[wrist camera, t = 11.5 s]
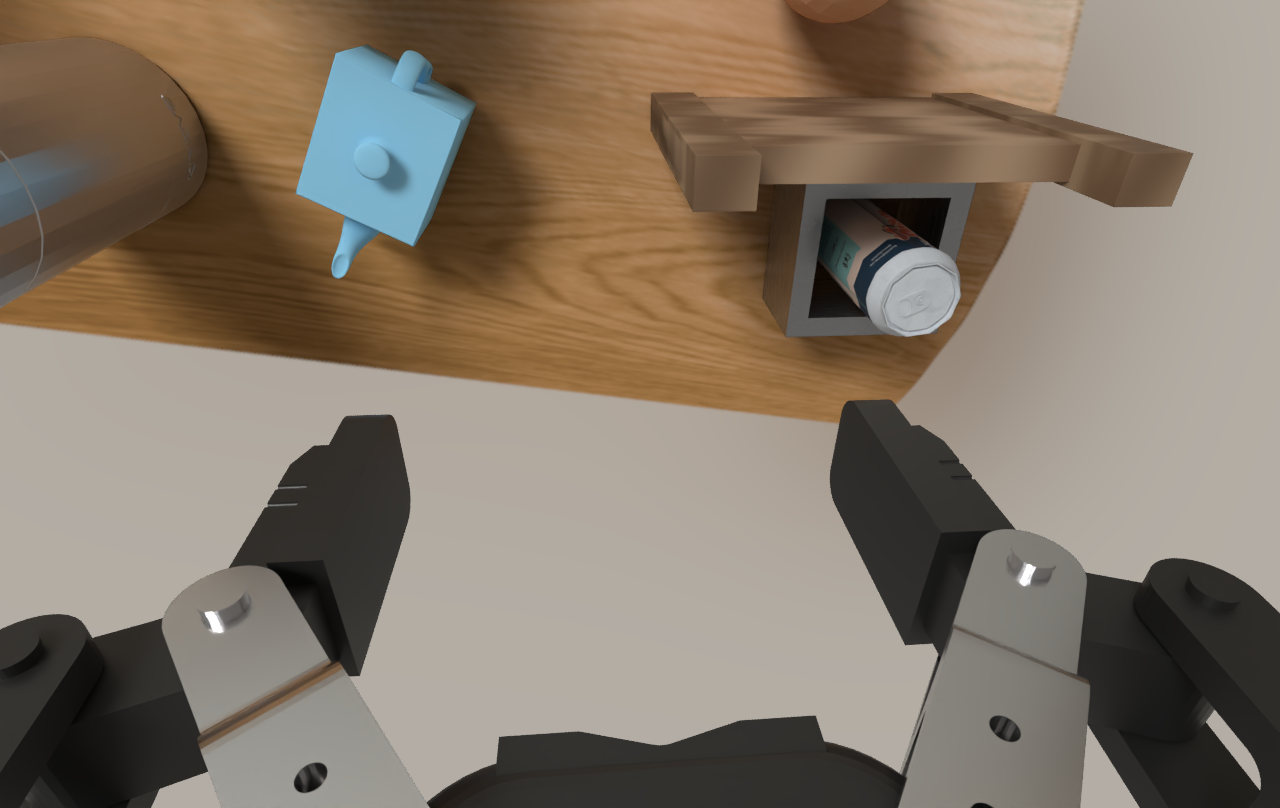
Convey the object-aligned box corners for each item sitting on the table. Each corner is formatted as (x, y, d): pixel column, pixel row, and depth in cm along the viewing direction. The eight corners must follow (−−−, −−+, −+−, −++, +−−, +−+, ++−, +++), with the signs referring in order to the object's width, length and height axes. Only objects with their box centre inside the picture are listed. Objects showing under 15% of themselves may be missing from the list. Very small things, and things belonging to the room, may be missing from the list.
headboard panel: (650, 129, 40) (692, 211, 25) (651, 92, 39) (695, 155, 24) (963, 129, 41) (1171, 206, 27) (971, 93, 40) (1193, 153, 26)
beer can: (885, 245, 45) (977, 321, 35) (816, 275, 46) (886, 359, 35) (867, 177, 42) (960, 237, 32) (794, 211, 43) (863, 280, 33)
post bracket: (762, 298, 46) (785, 337, 41) (778, 152, 41) (807, 176, 36) (897, 295, 47) (936, 333, 42) (929, 151, 42) (978, 174, 37)
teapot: (416, 260, 43) (388, 308, 37) (317, 216, 41) (270, 259, 35) (489, 74, 38) (471, 92, 31) (380, 14, 36) (337, 20, 30)
